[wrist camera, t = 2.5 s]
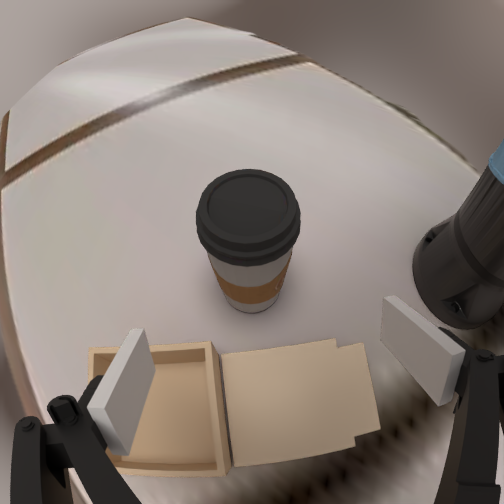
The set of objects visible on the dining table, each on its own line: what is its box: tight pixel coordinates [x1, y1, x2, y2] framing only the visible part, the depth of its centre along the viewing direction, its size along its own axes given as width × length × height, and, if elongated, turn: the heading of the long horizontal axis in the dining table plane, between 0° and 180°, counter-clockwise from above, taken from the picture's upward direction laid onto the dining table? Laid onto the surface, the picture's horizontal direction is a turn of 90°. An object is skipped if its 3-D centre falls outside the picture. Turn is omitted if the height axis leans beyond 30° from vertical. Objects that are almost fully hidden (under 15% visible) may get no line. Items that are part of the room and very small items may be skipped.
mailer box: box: [88, 338, 381, 477], centre depth 26 cm, size 28×12×6 cm, turn 97°
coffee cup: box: [196, 169, 301, 313], centre depth 29 cm, size 8×8×15 cm
